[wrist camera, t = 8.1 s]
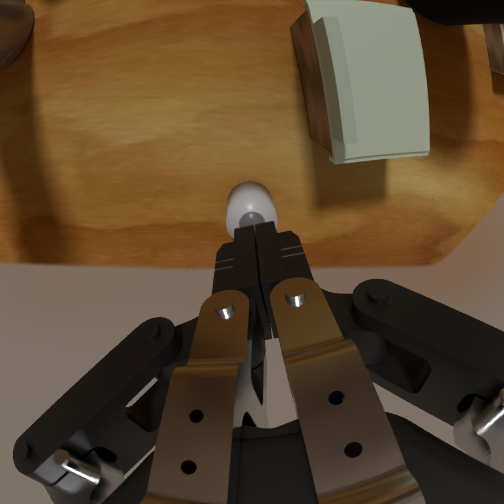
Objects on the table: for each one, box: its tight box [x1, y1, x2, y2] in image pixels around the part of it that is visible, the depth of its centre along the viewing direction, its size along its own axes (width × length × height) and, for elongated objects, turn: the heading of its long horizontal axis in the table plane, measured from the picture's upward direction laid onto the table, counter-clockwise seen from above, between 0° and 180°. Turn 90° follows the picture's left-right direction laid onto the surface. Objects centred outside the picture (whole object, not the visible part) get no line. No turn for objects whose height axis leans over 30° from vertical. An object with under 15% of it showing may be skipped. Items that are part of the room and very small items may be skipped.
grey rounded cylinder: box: [226, 181, 278, 239], centre depth 28 cm, size 5×5×5 cm
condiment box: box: [290, 10, 332, 153], centre depth 20 cm, size 12×9×7 cm
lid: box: [302, 0, 430, 165], centre depth 16 cm, size 14×9×4 cm
